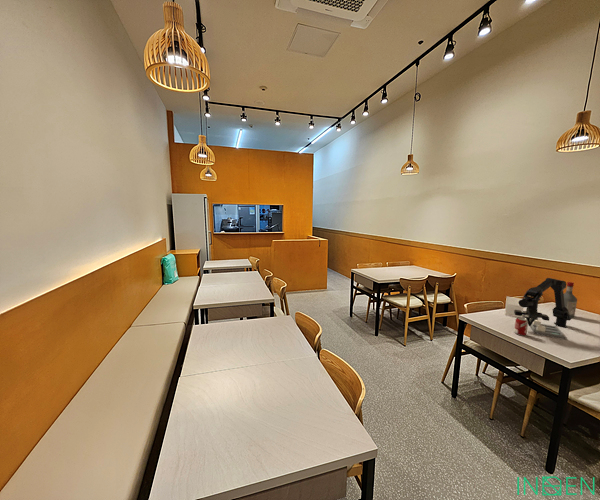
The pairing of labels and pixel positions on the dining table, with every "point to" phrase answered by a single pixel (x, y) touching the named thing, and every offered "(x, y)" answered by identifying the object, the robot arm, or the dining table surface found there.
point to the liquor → (570, 299)
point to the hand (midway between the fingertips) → (529, 325)
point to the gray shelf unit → (549, 331)
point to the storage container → (512, 306)
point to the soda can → (521, 326)
